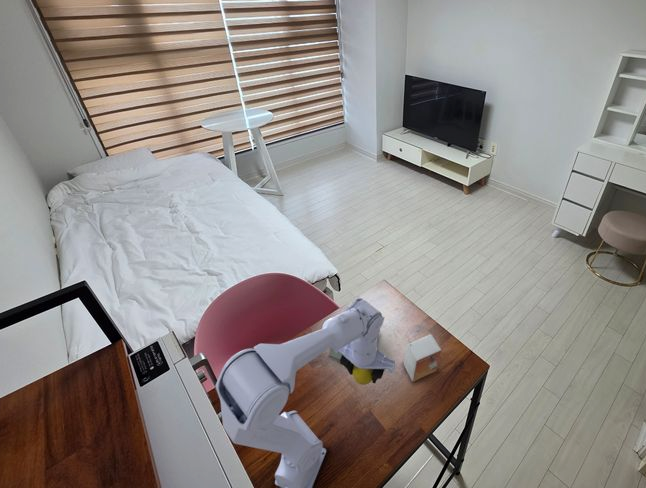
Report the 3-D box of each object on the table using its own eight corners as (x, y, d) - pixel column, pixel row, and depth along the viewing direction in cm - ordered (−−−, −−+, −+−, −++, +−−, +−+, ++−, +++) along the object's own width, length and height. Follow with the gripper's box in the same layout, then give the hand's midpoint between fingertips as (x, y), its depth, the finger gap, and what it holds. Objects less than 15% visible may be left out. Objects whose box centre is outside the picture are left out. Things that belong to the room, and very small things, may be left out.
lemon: (379, 378, 83) (380, 361, 78) (364, 395, 79) (364, 378, 75) (363, 364, 86) (363, 346, 81) (348, 380, 82) (347, 362, 78)
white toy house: (412, 382, 91) (416, 361, 85) (403, 364, 95) (405, 343, 89) (437, 371, 93) (442, 350, 87) (426, 354, 98) (431, 333, 92)
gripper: (400, 338, 75) (396, 370, 83) (342, 319, 79) (343, 351, 86) (390, 366, 69) (387, 398, 77) (329, 344, 73) (332, 376, 81)
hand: (363, 375), depth 81 cm, fingers closed on lemon, 5 cm apart
